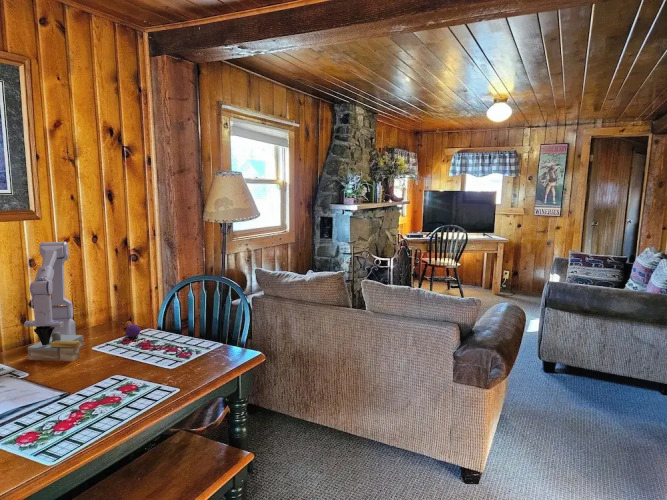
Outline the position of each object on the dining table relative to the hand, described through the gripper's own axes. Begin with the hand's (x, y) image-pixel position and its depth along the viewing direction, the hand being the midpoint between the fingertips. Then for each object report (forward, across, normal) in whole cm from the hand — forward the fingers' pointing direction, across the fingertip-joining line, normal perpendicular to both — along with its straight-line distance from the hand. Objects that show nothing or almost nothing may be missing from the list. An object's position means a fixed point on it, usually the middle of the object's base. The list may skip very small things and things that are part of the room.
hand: (45, 344), depth 170 cm
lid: (+3, 0, +6) cm, 7 cm away
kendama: (+6, +16, +34) cm, 38 cm away
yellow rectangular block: (0, +8, 0) cm, 8 cm away
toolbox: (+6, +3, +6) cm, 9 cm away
